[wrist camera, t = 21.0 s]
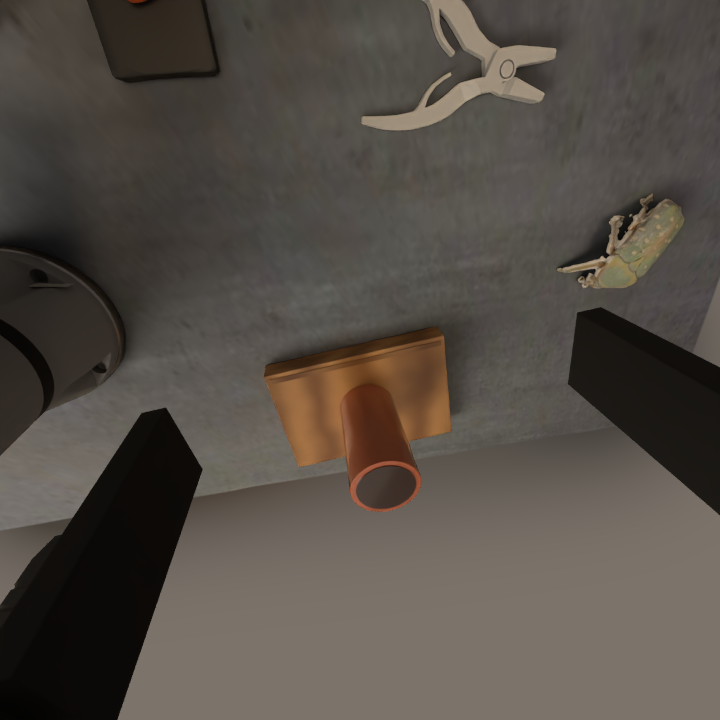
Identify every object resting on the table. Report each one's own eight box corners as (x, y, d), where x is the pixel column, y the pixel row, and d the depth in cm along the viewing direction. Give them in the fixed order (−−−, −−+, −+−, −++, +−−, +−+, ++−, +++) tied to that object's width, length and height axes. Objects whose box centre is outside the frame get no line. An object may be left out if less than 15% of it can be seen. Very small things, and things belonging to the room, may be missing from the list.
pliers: (376, -46, 24) (573, -7, 27) (373, -35, 26) (560, 1, 28) (363, 125, 29) (530, 146, 31) (360, 127, 31) (521, 146, 33)
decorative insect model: (569, 212, 35) (613, 226, 32) (656, 187, 37) (706, 198, 33) (551, 291, 41) (586, 311, 37) (627, 266, 43) (668, 283, 39)
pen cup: (346, 433, 44) (358, 519, 33) (334, 391, 40) (343, 472, 30) (396, 421, 44) (424, 503, 33) (389, 378, 40) (417, 454, 30)
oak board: (299, 453, 48) (299, 468, 45) (265, 365, 41) (263, 377, 38) (445, 419, 48) (451, 432, 46) (436, 326, 41) (444, 335, 39)
